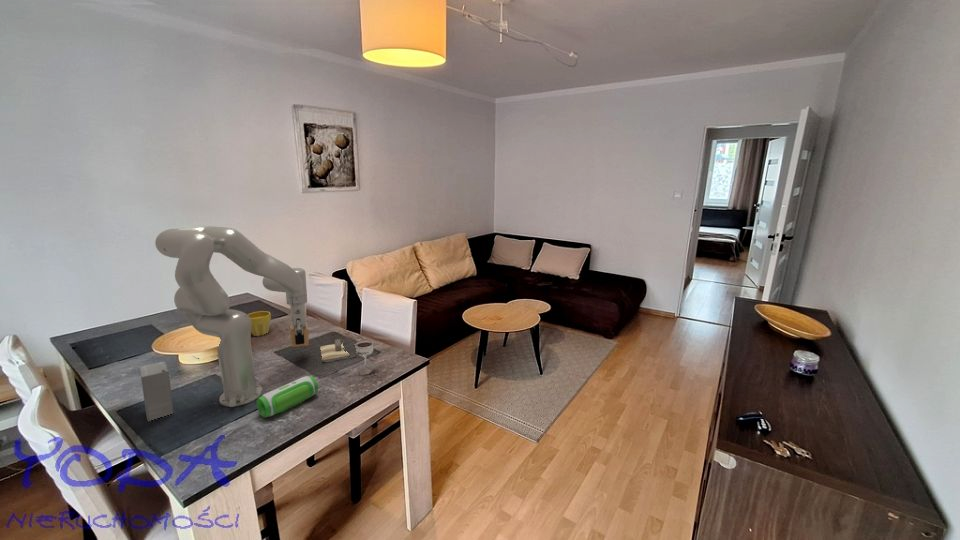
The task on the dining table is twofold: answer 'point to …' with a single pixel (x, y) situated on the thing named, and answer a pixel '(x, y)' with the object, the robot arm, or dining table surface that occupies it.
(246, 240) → the robot arm
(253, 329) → the plant pot
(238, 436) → the dining table surface
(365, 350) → the wineglass
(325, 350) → the holder
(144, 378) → the skincare box
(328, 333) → the dining table surface
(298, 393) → the speaker
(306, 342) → the tan block
